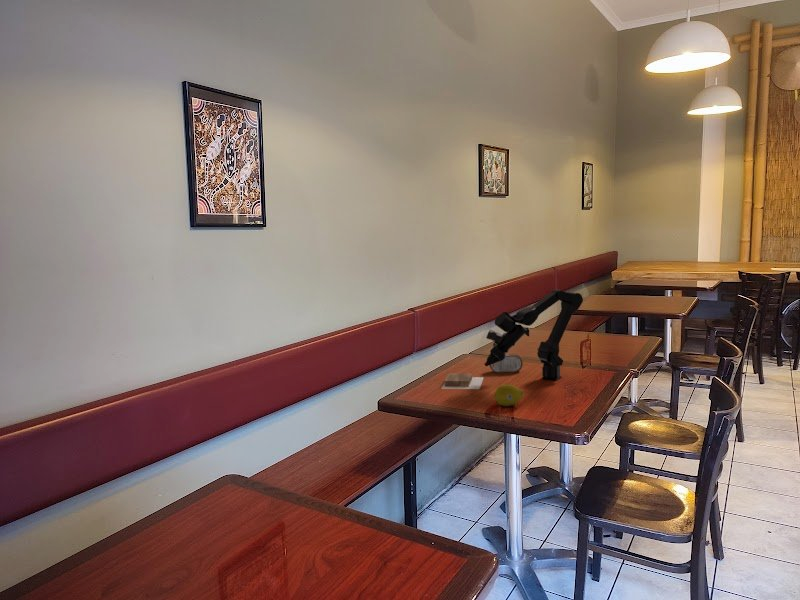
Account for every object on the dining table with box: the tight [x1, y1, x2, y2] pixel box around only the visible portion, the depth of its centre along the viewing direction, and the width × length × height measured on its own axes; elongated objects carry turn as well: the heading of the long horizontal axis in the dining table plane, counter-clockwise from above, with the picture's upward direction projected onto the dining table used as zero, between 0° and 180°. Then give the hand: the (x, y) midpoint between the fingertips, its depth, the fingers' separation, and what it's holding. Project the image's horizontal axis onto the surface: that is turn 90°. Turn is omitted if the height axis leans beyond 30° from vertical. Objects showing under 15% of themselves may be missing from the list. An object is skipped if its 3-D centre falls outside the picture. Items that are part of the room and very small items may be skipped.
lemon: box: [492, 383, 524, 407], centre depth 213 cm, size 11×8×8 cm
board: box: [444, 372, 473, 387], centre depth 247 cm, size 2×12×10 cm
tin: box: [488, 353, 524, 373], centre depth 261 cm, size 15×3×8 cm, turn 84°
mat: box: [440, 376, 484, 390], centre depth 247 cm, size 16×18×1 cm
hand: (486, 362), depth 243 cm, fingers open, 9 cm apart
